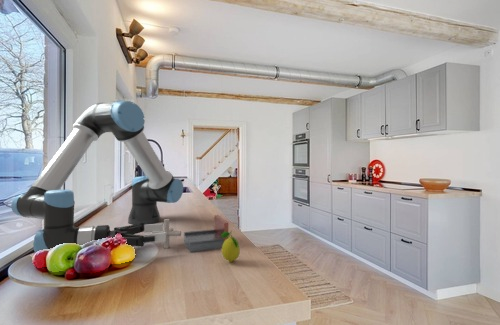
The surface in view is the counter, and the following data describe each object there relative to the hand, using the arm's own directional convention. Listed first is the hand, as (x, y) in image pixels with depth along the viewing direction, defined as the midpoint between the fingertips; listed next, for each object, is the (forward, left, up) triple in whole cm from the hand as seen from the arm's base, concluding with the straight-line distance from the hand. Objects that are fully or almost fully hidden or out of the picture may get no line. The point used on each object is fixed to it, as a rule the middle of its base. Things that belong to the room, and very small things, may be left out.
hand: (164, 231), depth 93 cm
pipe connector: (-1, +1, -6) cm, 6 cm away
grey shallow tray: (0, +14, -6) cm, 15 cm away
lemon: (+20, +18, -6) cm, 28 cm away
